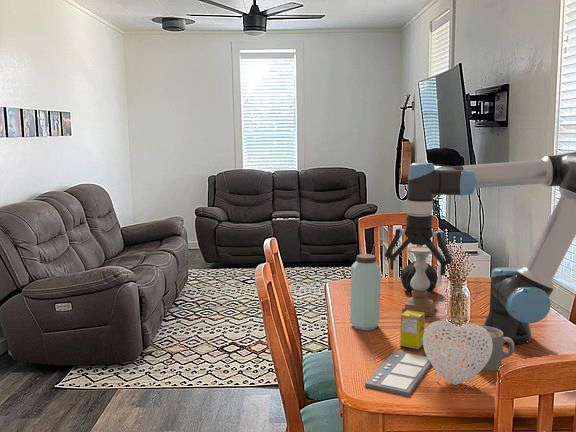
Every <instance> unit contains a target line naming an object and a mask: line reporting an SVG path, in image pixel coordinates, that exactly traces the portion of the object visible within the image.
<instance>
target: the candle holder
mask: <svg viewBox="0 0 576 432" xmlns="http://www.w3.org/2000/svg"><path fill="white" fill-rule="evenodd" d="M407 252H408V253H411V254H413V256H414V257H415V259H416V260H415V261H416V262H415V264H414V267H415V269H416V273H415V275H414V276H413V278H412V279H411V282H410V285H411V287H412V288H413V290H412V292H411V297H409V298H408V299H407V300H406V302H405V304H403V307H402V309H401V310H402V312H401V313H402V314H403V313H404V312H406V311H407V310H410V311H416V312H422V313H425V317H433V316H434V313H435V311H436V306H437V305H436V303H435V302H434V300H433V299H429V298H428V296H429V293H428V292H427V291H426V289H428V288H429V287H430V281H429V279H428V278H427V276H426V274H425V270H426V268H427V267H428V265H427V263H428V262H427V261H426V260H427V258H428V257H429V255H433V253H432V252H431V251H430V249H429V248H428V247H427V246H425V245H423V246H422V245H418V246H417V245H413V246H409V247H407Z"/></svg>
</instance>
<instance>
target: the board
mask: <svg viewBox="0 0 576 432" xmlns="http://www.w3.org/2000/svg"><path fill="white" fill-rule="evenodd" d="M431 366H432V364H431V363H430V361H429V359H428V357H427V355H421V354H417V353H416V354H415V353H411V352H406V351H400V350H394V351H393V352H392V353H391V354H390V355H389V357H387V359H385V361H384V362H383V363H382V364H381V365H380V366H379V367H378V369H376V370H375V372H373V374H372V375H371V376H370V377H369V378H368V379H367V380H366V381H365V382H364V387H365V388H371V389H373V390H378V391H384V392H388V393H393V394H397V395H402V396H407V397H410V395H411V393H412V392H413V391H414V389H415V388H416V387H417V386H418V384H419V383H420V381H421V380H422V378H423V377H424V376H425V374H426V372H427V371H428V370H429V369H430V368H431Z"/></svg>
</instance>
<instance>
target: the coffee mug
mask: <svg viewBox="0 0 576 432" xmlns="http://www.w3.org/2000/svg"><path fill="white" fill-rule="evenodd" d="M480 326H481V327H483V328H484V329H486V330H487V331H488V333H489V334H490V336H491V338H492V343H493V349H492V354H491V357H490V359H489V361H488V362H487V364H486V365H485V367H484V368H483V369H482V370H483V371H484V372H493V371H494V372H495V371H498V370H500V369H499V367H500V366H501V367H502V360H503V359H506V358H508V357H510V356H513V354H514V351H515V344H514V342H513V340H512V339H511V338H508V337H503V332H502V331H501V330H499V329H497V328H493V327H489V326H483V325H480ZM468 329H469V328H468ZM475 330H476V329H475ZM479 331H480V330H479ZM469 334H470V335H472V333H469ZM476 334H478V333H477V332H476ZM480 334H481V333H480ZM481 335H482V334H481ZM483 336H484V335H483ZM475 337H476V336H473V338H475ZM479 338H480V336H479ZM481 338H482V337H481ZM475 339H477V338H475ZM467 340H471V337H468V338H467ZM488 340H489V339H488ZM473 341H474V340H472V342H473ZM483 341H485V340H484V339H483ZM505 342H508V343H509V344H508V346H509V347H508V350H507V351H504V349H503V346H504V344H506V343H505ZM478 343H479V340H478ZM473 344H474V343H473ZM486 344H487V341H486ZM469 345H470V342H469ZM484 345H485V344H484V343H483V346H484ZM475 346H476V344H475ZM472 347H474V346H473V345H472ZM479 347H480V345H479ZM486 347H487V348H488V346H486ZM466 348H468V347H466ZM489 348H490V347H489ZM476 349H477V348H476ZM471 350H473V349H471ZM481 350H483V348H481ZM479 354H480V353H479ZM481 354H482V353H481ZM477 355H478V354H477ZM487 355H488V354H487ZM487 355H486V356H487ZM478 358H479V357H478ZM483 358H484V357H483ZM466 359H467V358H466ZM479 362H480V360H479V361H478V363H479ZM482 362H483V361H482ZM482 362H481V363H482ZM467 363H468V362H467ZM473 365H474V363H473V364H472V365H471V366H473ZM474 368H475V367H474ZM474 368H473V369H474ZM482 370H481V371H482ZM483 371H482V372H483Z"/></svg>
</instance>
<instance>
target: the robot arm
mask: <svg viewBox="0 0 576 432" xmlns="http://www.w3.org/2000/svg"><path fill="white" fill-rule="evenodd" d="M407 173H408V176H407V200H406V201H407V202H406V213H407V214H406V227H405V229H402V228H401V227H398V228H397V229H395V231H394V232H395V234H394V237H393V239H392V241H391V243H390V244H389V246H388V248H387V249H386V252H385V254H384V257H385V258H388V259H389V260H390V265H389V268H390V270H391V271H392V281H393V282H396V281H398V279H399V258H397V257H398V256H399V255H400V254H401V253H402V252H403V251H404V250H405V249H406V248H408V246H409V245H410V244H411V245H413V246H417V245H418V246H425V247H428V248H429V249H430V251H431V252H432V253H433V254H432V255H433V256H434V257H435V259H436V260H437V261H438V262H439V263H438V265H437V283H436V286H437V287H439V288H440V287H441V286H442V285H443V284H442V282H443V281H442V279H443V276H445V275H446V269H447V265H450V264H451V263H452V262H453V257H452V256H451V254H450V251H449V249H448V247H447V245H446V243H445V240H444V236H443V231H441V230H440V231H433V216H432V214H433V209H434V208H433V207H434V205H433V203H434V196H440V195H441V196H442V195H443V196H470V195H473V194H474V193H475V190H476V189H481V188H482V189H484V188H498V187H499V188H500V187H514V186H515V187H516V186H529V185H539V184H540V185H544V186H545V187H558V191H559V193H560V197H559V200H558V201H557V203H556V205H555V207H554V209H553V211H552V212H551V215H550V216H549V218H548V221H547V222H546V224H545V225H544V228H543V230H542V232H541V234H540V236H539V238H538V239H537V241H536V243H535V245H534V247H533V249H532V251H531V253H530V255H529V257H528V258H527V261H526V263H525V265H524V266H523V267H519V268H518V267H496V268H492V270H491V276H490V288H489V289H490V292H489V293H490V296H489V309H488V314H487V316H486V318H485V321H484V322H483V325H482V326H489V327H493V328H497V329H499V330H501V331H502V332H503V337H508V338H511V339H512V340H513V342H514V345H517V344H516V343H523V344H525V343H524V342H527V341H529V340H530V339H531V340H532V331H531V327H530V326H531V325H530V324H535V323H539V322H540V321H543V320H544V318H546V317H547V315H548V314H549V313H550V312H551V311H550V310H551V307H552V306H551V305H552V304H551V303H552V302H551V299H550V297H551V294H552V292H553V291H554V289H555V285H554V283H553V279H554V277H555V275H556V273H557V271H558V269H559V267H560V265H561V264H562V262H563V260H564V258H565V256H566V254H567V252H568V250H569V249H570V247H571V245H572V243H573V241H574V239H575V237H576V151H573V152H567V153H562V154H555V155H545V156H544V157H542V159H534V160H519V161H508V162H493V163H479V164H469V165H467V164H466V165H465V164H464V165H455V166H452V165H451V166H448V165H443V166H438V167H437V168H435V164H434V163H432V162H413V163H410V164H409V167H408V172H407ZM403 235H404V236H405V237H406V238H407V239H405V241H404V242H403V243H402V244H401V245H400V246H399V247H398V248H397V249H396V251H394V249H395V247H396V245H397V244H398V242H399V240H400V238H401V237H403ZM433 237H434V239H435V240H437V244H438V246H439V248H440V250H441V252H442V253H441V252H440V251H439V249H438V248H437V247H436V246H435V243H434V242H433V241H432V240H431V239H432V238H433ZM393 251H394V253H392V252H393ZM442 254H443V255H442ZM531 340H530V341H531ZM530 341H529V342H530ZM507 343H508V342H505V343H504V344H507ZM527 343H528V342H527ZM508 345H509V343H508Z"/></svg>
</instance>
